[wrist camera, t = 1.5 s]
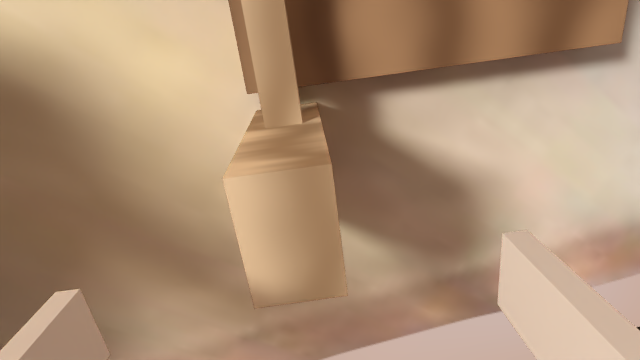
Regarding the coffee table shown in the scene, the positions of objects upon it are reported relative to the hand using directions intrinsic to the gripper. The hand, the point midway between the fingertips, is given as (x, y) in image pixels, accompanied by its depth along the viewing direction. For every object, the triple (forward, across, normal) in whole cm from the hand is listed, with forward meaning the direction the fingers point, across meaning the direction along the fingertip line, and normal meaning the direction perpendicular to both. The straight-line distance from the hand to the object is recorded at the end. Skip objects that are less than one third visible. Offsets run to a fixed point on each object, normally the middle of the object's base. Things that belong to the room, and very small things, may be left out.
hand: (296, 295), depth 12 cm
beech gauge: (+15, 0, +5) cm, 16 cm away
